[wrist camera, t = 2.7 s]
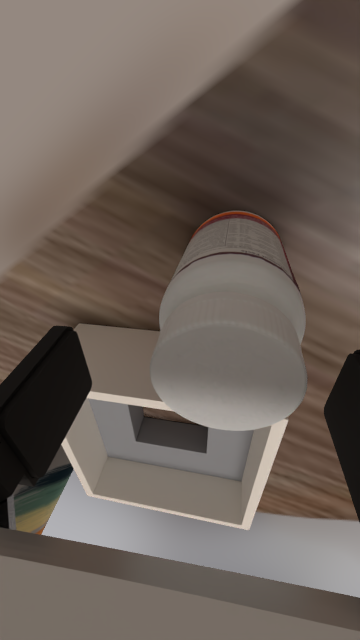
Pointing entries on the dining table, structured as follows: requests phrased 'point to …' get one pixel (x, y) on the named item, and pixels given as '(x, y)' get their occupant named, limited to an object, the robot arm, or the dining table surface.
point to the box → (160, 441)
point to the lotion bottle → (41, 495)
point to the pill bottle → (231, 328)
